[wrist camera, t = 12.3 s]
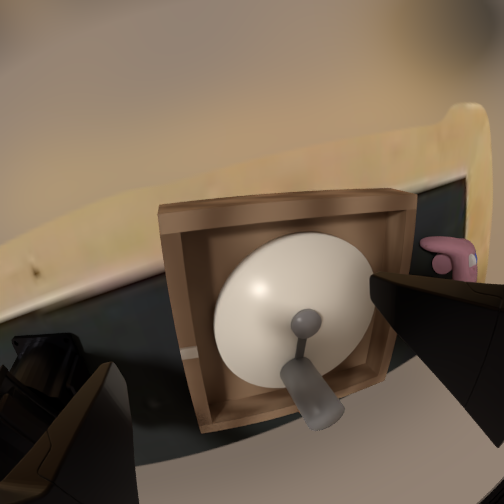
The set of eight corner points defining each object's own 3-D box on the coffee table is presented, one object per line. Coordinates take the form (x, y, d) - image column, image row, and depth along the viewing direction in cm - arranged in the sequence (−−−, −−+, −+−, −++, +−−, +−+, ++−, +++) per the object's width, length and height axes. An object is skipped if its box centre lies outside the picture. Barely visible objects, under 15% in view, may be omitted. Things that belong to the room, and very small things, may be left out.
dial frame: (195, 407, 26) (201, 435, 23) (159, 204, 20) (157, 215, 16) (367, 362, 31) (385, 381, 27) (390, 188, 24) (419, 195, 21)
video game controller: (419, 303, 33) (468, 317, 28) (406, 321, 30) (460, 338, 25) (428, 226, 29) (484, 237, 24) (417, 237, 26) (481, 250, 21)
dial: (214, 231, 20) (239, 270, 13) (380, 231, 24) (442, 258, 17) (213, 388, 24) (232, 452, 18) (350, 365, 28) (389, 409, 21)
